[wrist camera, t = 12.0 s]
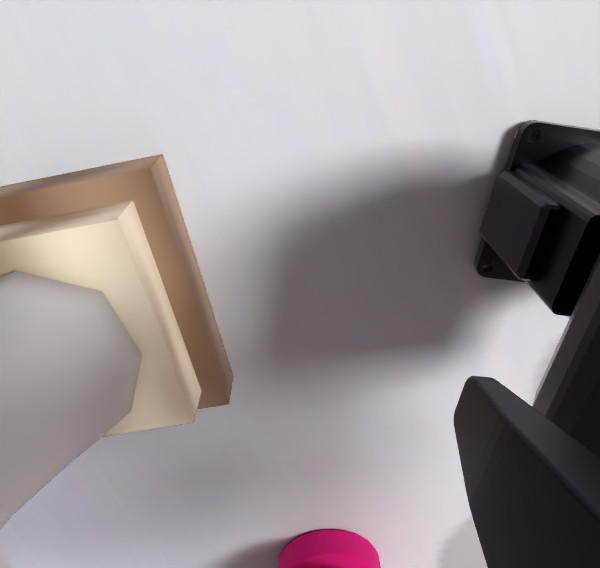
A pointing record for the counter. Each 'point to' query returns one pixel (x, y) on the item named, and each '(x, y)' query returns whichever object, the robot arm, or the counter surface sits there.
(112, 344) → the flask
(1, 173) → the counter surface
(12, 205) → the tower base
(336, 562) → the pepper mill
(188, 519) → the counter surface
